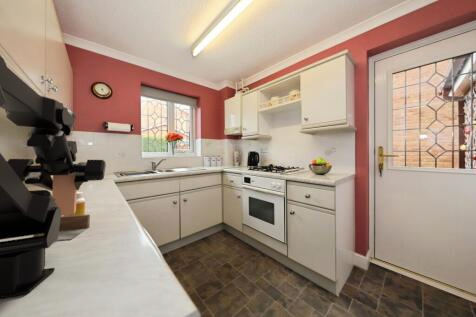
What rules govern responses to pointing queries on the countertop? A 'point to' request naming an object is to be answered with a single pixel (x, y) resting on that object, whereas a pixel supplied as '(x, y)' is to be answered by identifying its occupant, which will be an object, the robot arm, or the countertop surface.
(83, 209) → the supplement bottle
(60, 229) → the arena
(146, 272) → the countertop surface
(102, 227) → the countertop surface
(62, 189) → the terracotta block
